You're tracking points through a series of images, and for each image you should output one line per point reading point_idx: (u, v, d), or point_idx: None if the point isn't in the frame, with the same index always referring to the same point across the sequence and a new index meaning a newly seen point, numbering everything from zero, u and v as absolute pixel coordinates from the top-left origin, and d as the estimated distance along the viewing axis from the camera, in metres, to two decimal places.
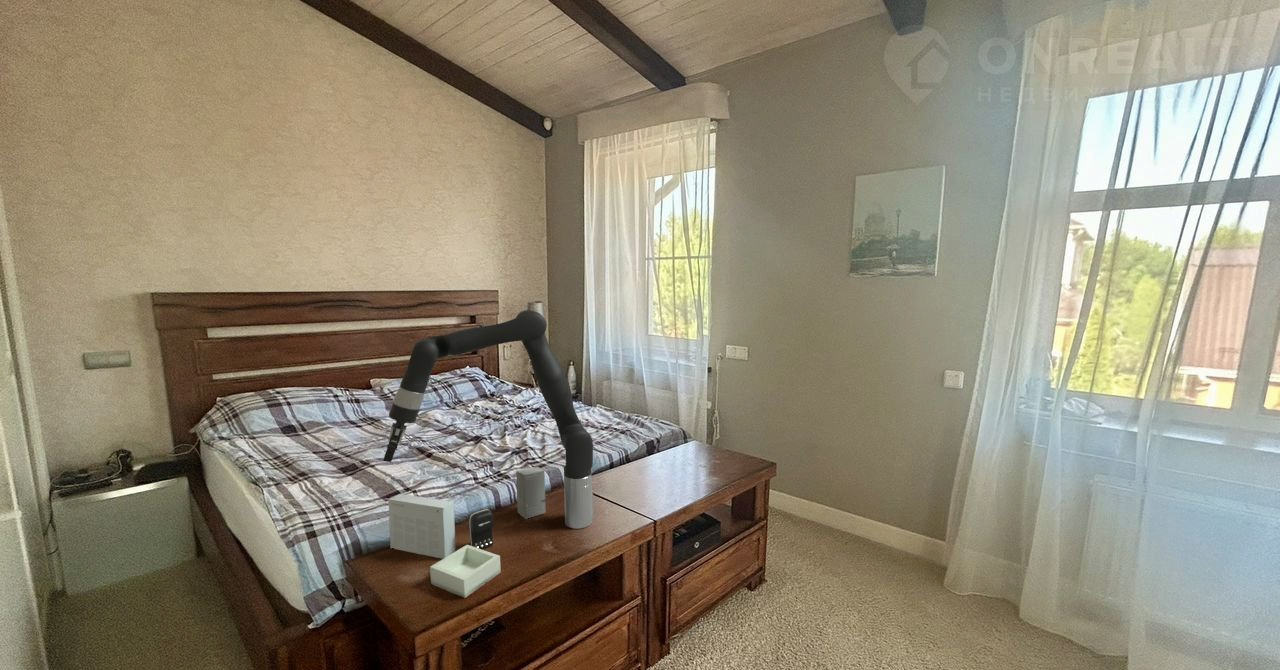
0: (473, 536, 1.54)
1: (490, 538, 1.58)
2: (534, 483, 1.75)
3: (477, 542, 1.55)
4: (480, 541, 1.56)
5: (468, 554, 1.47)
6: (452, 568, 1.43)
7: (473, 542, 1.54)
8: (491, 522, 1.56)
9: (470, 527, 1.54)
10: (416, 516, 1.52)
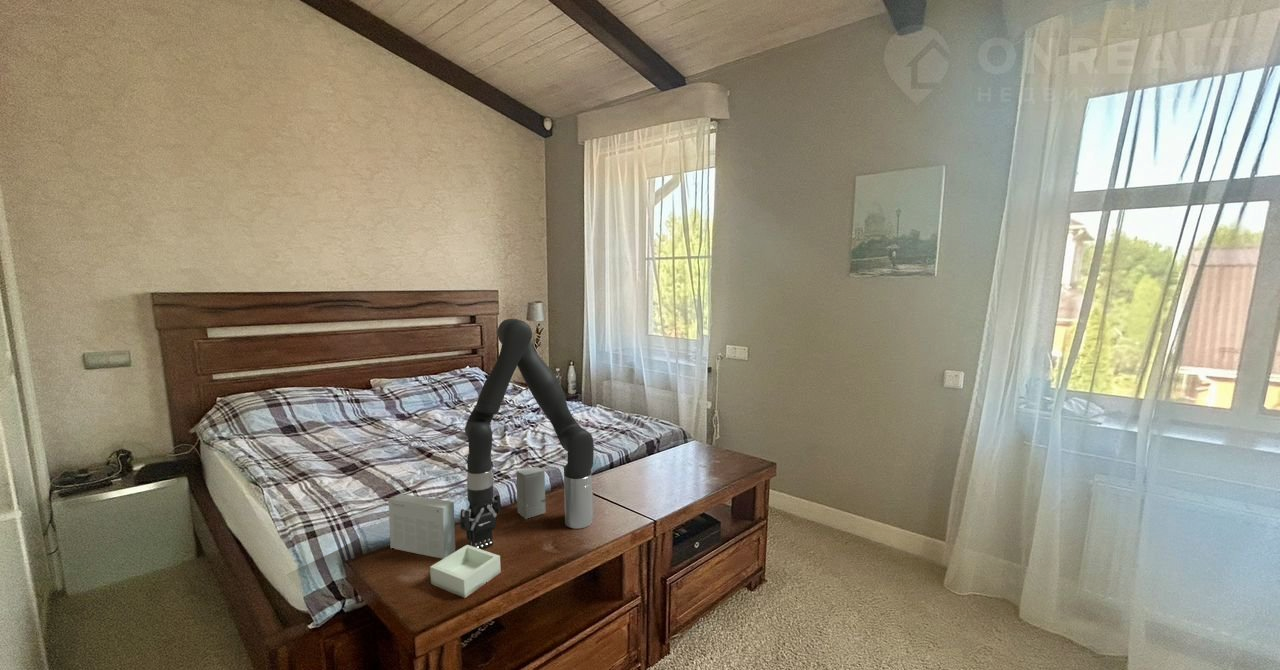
0: None
1: (490, 538, 1.58)
2: (534, 483, 1.75)
3: (477, 542, 1.55)
4: (480, 541, 1.56)
5: (468, 554, 1.47)
6: (452, 568, 1.43)
7: (473, 542, 1.54)
8: (491, 522, 1.56)
9: None
10: (416, 516, 1.52)
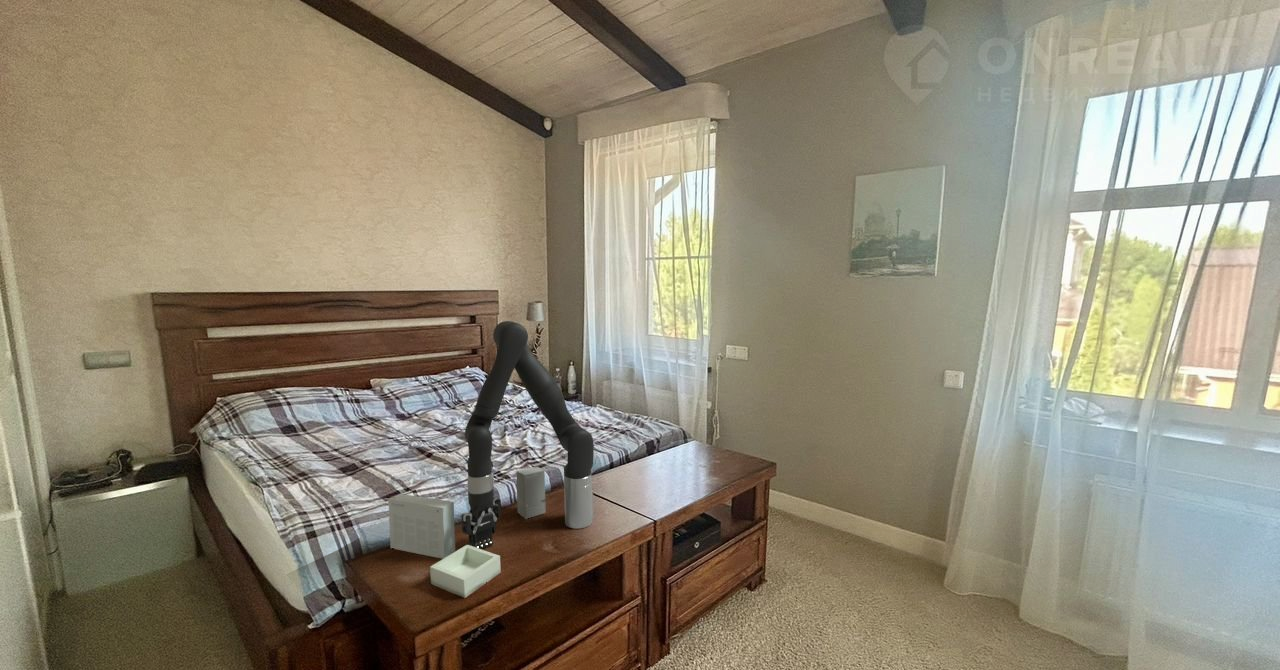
0: None
1: (490, 538, 1.58)
2: (534, 483, 1.75)
3: (477, 542, 1.55)
4: (480, 541, 1.56)
5: (468, 554, 1.47)
6: (452, 568, 1.43)
7: None
8: (491, 522, 1.56)
9: None
10: (416, 516, 1.52)
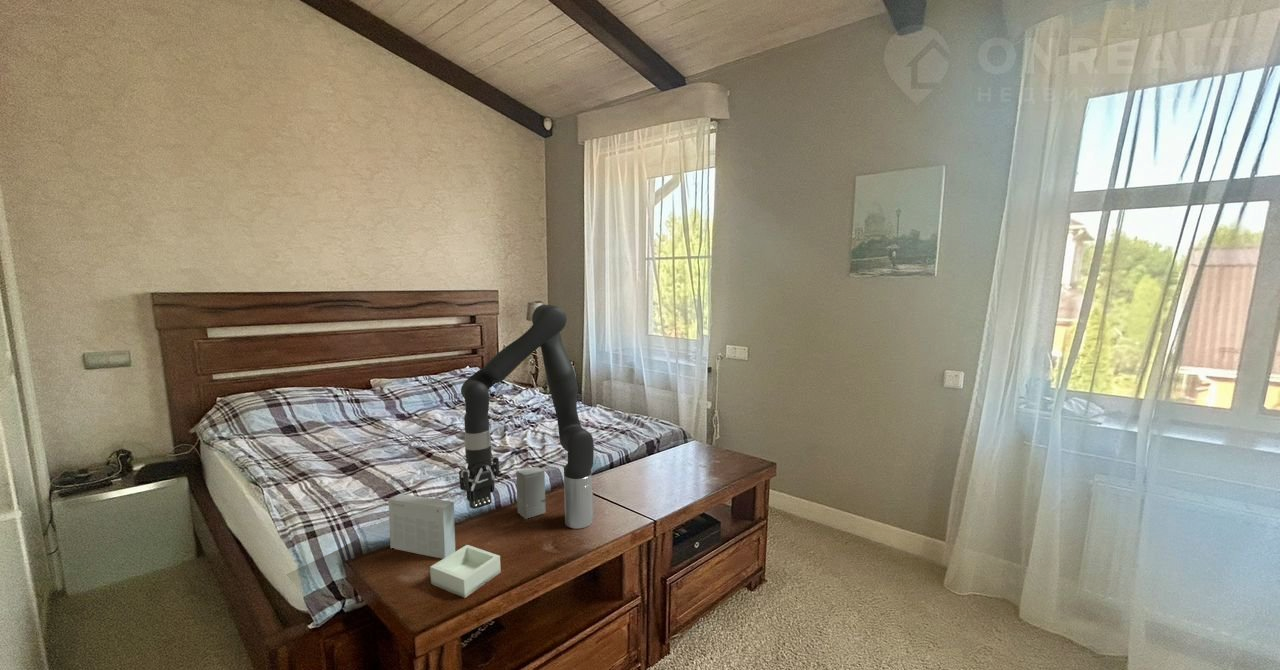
0: None
1: (488, 496, 1.56)
2: (534, 483, 1.75)
3: (475, 500, 1.54)
4: (478, 499, 1.54)
5: (468, 554, 1.47)
6: (452, 568, 1.43)
7: None
8: (489, 480, 1.54)
9: None
10: (416, 516, 1.52)
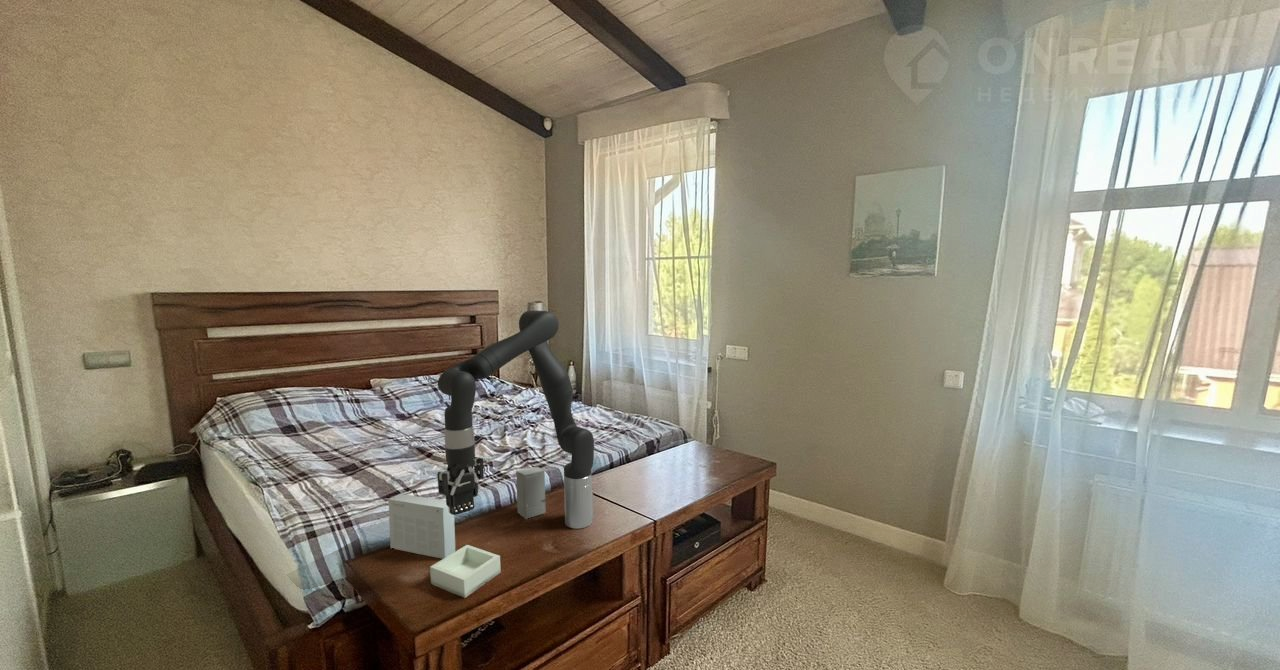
0: None
1: (471, 501, 1.40)
2: (534, 483, 1.75)
3: (456, 505, 1.37)
4: (459, 504, 1.38)
5: (468, 554, 1.47)
6: (452, 568, 1.43)
7: None
8: (472, 483, 1.37)
9: None
10: (416, 516, 1.52)
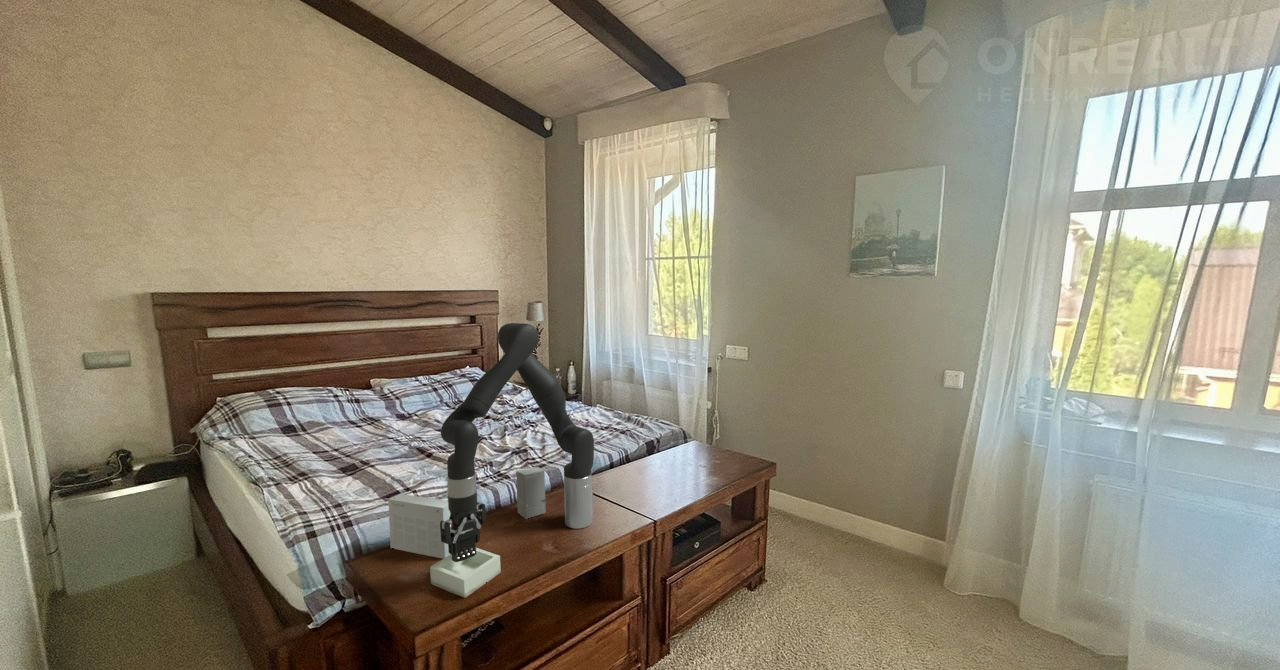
0: None
1: (473, 547, 1.41)
2: (534, 483, 1.75)
3: (458, 552, 1.38)
4: (461, 551, 1.39)
5: None
6: (452, 568, 1.43)
7: None
8: (474, 530, 1.39)
9: None
10: (416, 516, 1.52)
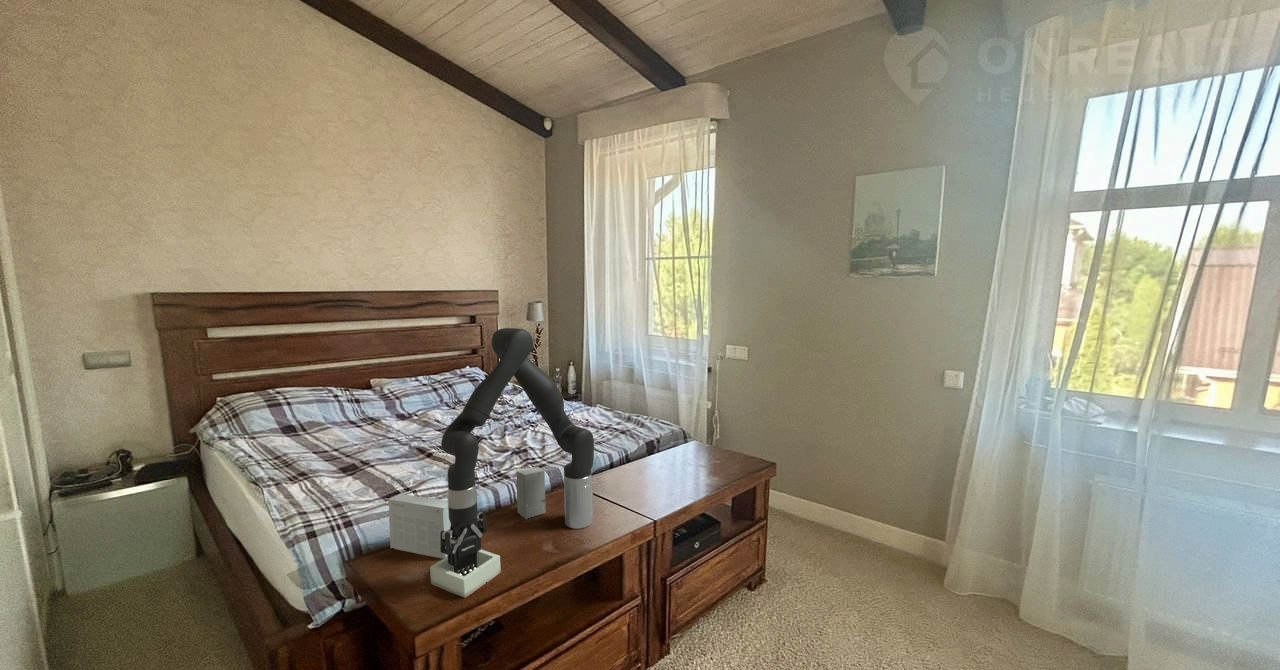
0: None
1: (474, 564, 1.42)
2: (534, 483, 1.75)
3: (460, 569, 1.39)
4: (463, 567, 1.40)
5: None
6: (452, 568, 1.43)
7: (455, 569, 1.38)
8: (475, 546, 1.40)
9: None
10: (416, 516, 1.52)
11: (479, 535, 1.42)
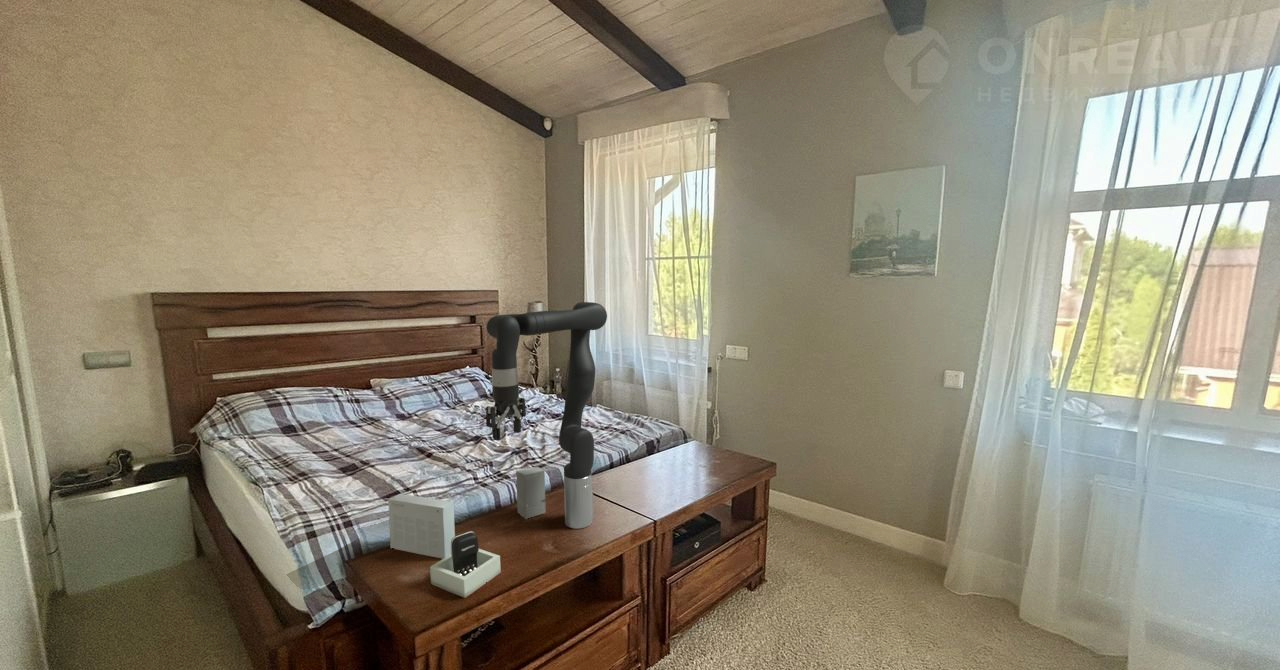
0: (455, 562, 1.38)
1: (474, 564, 1.42)
2: (534, 483, 1.75)
3: (460, 569, 1.39)
4: (463, 567, 1.40)
5: None
6: (452, 568, 1.43)
7: (455, 569, 1.38)
8: (475, 546, 1.40)
9: (452, 552, 1.38)
10: (416, 516, 1.52)
11: (519, 417, 1.53)
